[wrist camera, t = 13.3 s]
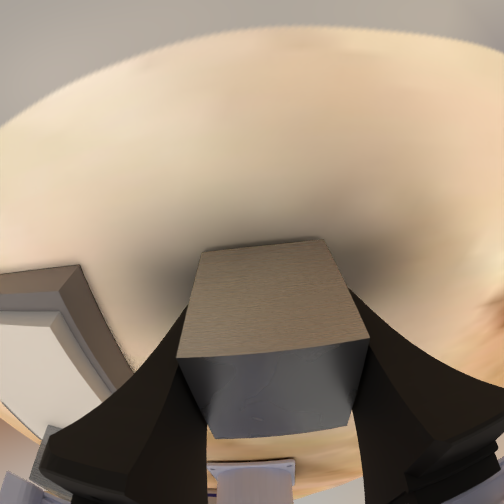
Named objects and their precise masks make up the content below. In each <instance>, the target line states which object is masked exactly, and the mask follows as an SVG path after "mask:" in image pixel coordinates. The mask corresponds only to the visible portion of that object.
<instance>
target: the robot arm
mask: <svg viewBox="0 0 504 504" xmlns="http://www.w3.org/2000/svg"><path fill="white" fill-rule="evenodd" d="M348 290H349V292H350V294H351V296H352V299H353V301H354V303H355V305H356V307H357V309H358V312H359V314H360V316H361V318H362V320H363V323H364V325H365V327H366V329H367V332H368V334H369V336H370V341H369V345H368V350H367V354H366V358H365V362H364V367H363V371H362V375H361V378H360V382H359V386H358V390H357V393H356V397H355V400H354V404H353V407H352V412H353V416H354V421H355V426H356V431H357V436H358V442H359V449H360V455H361V462H362V471H363V479H364V491H365V504H504V456H503V457H502V458H500V459H499V460H497V457H496V455H495V453H494V452H495V451H497V450H498V445H497V443H496V441H495V440H496V439H497V438H498V437H499V436H500V435H501V434H502V433H503V432H504V388H502V387H499V386H496V385H492V384H489V383H486V382H483V381H481V380H478V379H476V378H473V377H471V376H469V375H466V374H464V373H462V372H460V371H458V370H456V369H454V368H452V367H450V366H448V365H446V364H444V363H442V362H441V361H439V360H437V359H435V358H434V357H432V356H430V355H429V354H427V353H426V352H424V351H423V350H421V349H420V348H418V347H417V346H415V345H414V344H412V343H411V342H409V341H408V340H407V339H405V338H404V337H403V336H402V335H400V334H399V333H398V332H396V331H395V330H394V329H393V328H391V327H390V326H389V325H388V324H387V323H386V322H385V321H383V320H382V319H381V318H380V317H379V316H378V315H377V314H376V313H374V312H373V311H372V310H371V309H370V308H369V307H368V306H367V305H366V304H365V303H364V302H363V301H362V300H361V299H360V298H359V297H357V296H356V295H355V294H354V293H353V292H352V291H351V290H350V289H349V288H348ZM188 305H189V304H188ZM188 305H187V306H186V308H185V309H184V310H183V312H182V313H181V315H180V316H179V318H178V319H177V320H176V322H175V323H174V325H173V326H172V327H171V329H170V330H169V332H168V333H167V334H166V336H165V337H164V338H163V340H162V341H161V342H160V344H159V345H158V346H157V348H156V349H155V350H154V351H153V353H152V354H151V355H150V356H149V357H148V359H147V360H146V361H145V362H144V363H143V365H142V366H141V367H140V368H139V369H138V370H137V371H136V372H135V373H134V374H133V375H132V376H131V377H130V378H129V379H128V380H127V381H126V382H125V383H124V384H123V385H122V386H121V387H120V388H119V389H118V390H117V391H115V392H114V393H113V394H112V395H111V396H110V397H108V398H107V399H106V400H105V401H104V402H102V403H101V404H100V405H99V406H97V407H96V408H94V409H93V410H92V411H90V412H89V413H87V414H86V415H85V416H83V417H82V418H80V419H78V420H77V421H75V422H74V423H72V424H70V425H68V426H67V427H65V428H63V429H61V430H60V431H58V432H56V433H54V434H52V435H50V436H49V439H48V441H47V444H46V447H45V450H44V453H43V455H42V458H41V461H40V464H39V467H38V469H39V471H40V473H41V474H42V475H43V476H44V477H46V478H47V479H49V480H50V481H52V482H53V483H55V484H57V485H58V486H60V487H62V488H63V489H65V490H67V491H69V492H70V493H72V494H73V495H72V499H71V502H69V501H66V500H64V499H61V498H59V497H56V496H54V495H52V494H49V493H47V492H45V491H43V490H42V489H41V488H39V487H37V486H35V485H34V484H32V483H31V482H29V481H27V480H25V479H23V478H21V477H19V476H17V475H15V474H14V473H12V472H10V471H7V472H6V475H5V478H4V481H3V484H2V488H1V492H0V504H208V493H207V469H208V470H209V471H210V473H211V474H212V475H213V476H214V478H215V479H216V480H217V500H216V504H293V492H292V486H294V485H295V460H294V459H286V460H276V461H263V462H243V463H207V462H206V445H207V422H206V420H205V419H204V417H203V415H202V413H201V411H200V409H199V407H198V405H197V402H196V400H195V398H194V396H193V394H192V392H191V390H190V388H189V386H188V383H187V381H186V379H185V377H184V375H183V372H182V370H181V368H180V366H179V363H178V361H177V359H176V356H177V351H178V347H179V343H180V338H181V334H182V330H183V325H184V321H185V317H186V313H187V309H188Z"/></svg>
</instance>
